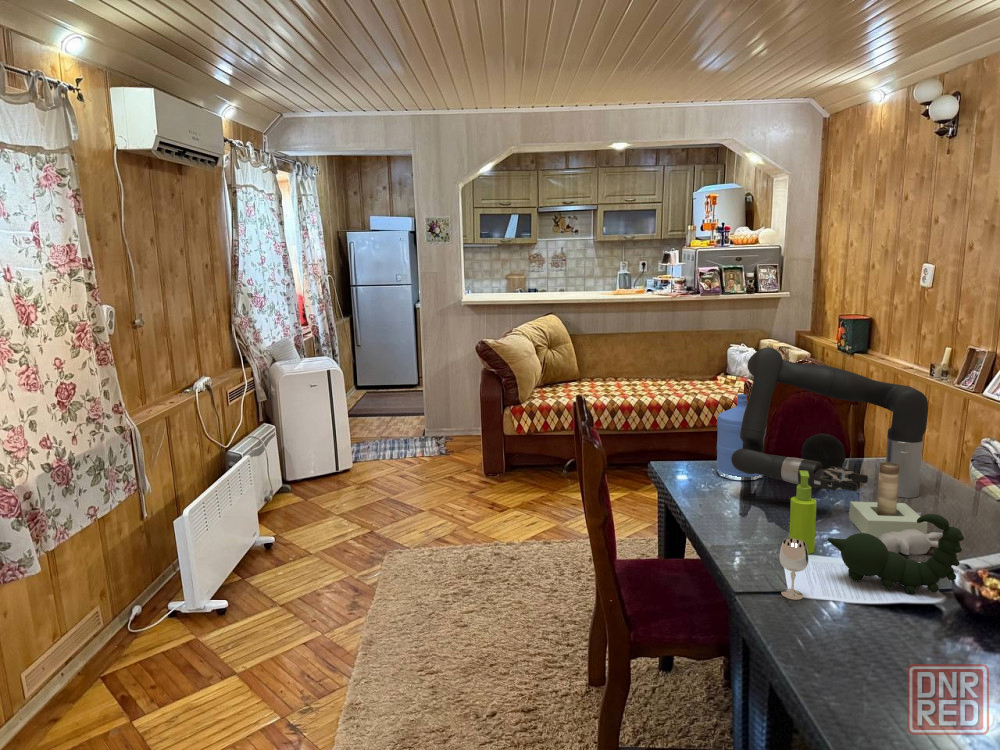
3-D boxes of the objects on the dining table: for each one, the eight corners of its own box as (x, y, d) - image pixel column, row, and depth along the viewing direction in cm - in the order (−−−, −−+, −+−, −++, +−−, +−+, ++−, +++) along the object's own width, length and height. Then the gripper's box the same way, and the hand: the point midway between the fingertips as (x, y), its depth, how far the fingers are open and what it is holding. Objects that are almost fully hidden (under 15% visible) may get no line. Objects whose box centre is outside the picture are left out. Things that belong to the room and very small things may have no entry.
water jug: (714, 479, 221) (716, 398, 217) (718, 466, 236) (719, 389, 231) (764, 483, 215) (766, 400, 211) (764, 469, 230) (767, 391, 225)
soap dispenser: (812, 544, 169) (815, 469, 166) (815, 555, 162) (819, 477, 159) (787, 541, 171) (790, 467, 167) (789, 552, 164) (792, 476, 161)
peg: (873, 525, 179) (877, 462, 176) (891, 526, 178) (895, 462, 175) (879, 532, 175) (883, 467, 172) (897, 532, 174) (902, 467, 171)
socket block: (849, 518, 184) (850, 501, 184) (903, 520, 182) (904, 503, 181) (866, 538, 171) (868, 520, 170) (926, 540, 168) (927, 522, 167)
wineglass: (806, 590, 145) (809, 539, 143) (806, 603, 140) (809, 550, 138) (778, 586, 148) (780, 536, 146) (777, 598, 142) (779, 546, 140)
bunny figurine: (870, 527, 168) (934, 522, 166) (872, 546, 169) (935, 541, 166) (886, 543, 159) (954, 537, 156) (887, 562, 160) (955, 558, 157)
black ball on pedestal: (848, 476, 220) (851, 432, 218) (837, 486, 211) (840, 441, 208) (807, 469, 229) (809, 427, 227) (795, 479, 219) (796, 435, 217)
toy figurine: (946, 592, 146) (822, 563, 157) (962, 512, 142) (834, 488, 153) (953, 612, 137) (821, 580, 148) (970, 528, 134) (834, 502, 145)
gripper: (792, 465, 185) (854, 476, 173) (811, 453, 195) (871, 464, 183) (791, 490, 186) (852, 503, 175) (810, 478, 196) (870, 489, 185)
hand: (862, 483), depth 179 cm, fingers open, 8 cm apart
